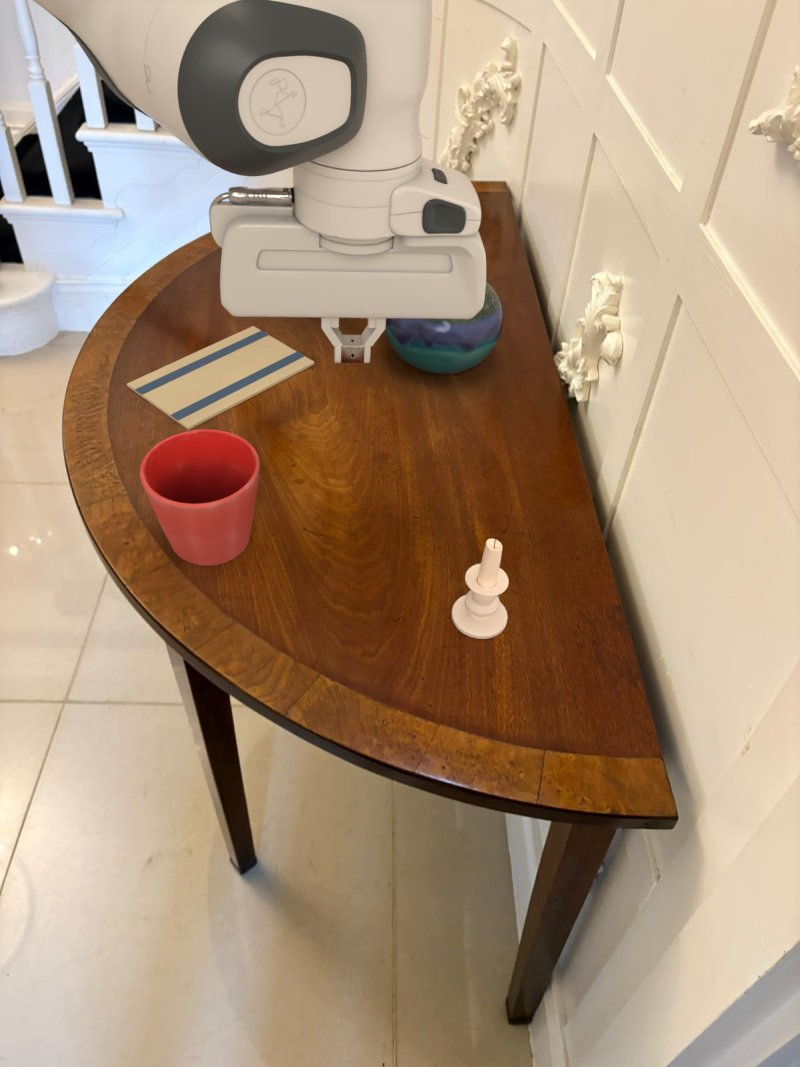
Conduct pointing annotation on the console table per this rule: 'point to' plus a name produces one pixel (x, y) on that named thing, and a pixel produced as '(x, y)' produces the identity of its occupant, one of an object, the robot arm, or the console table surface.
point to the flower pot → (203, 493)
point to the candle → (483, 596)
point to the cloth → (219, 376)
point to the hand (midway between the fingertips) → (351, 359)
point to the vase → (448, 338)
